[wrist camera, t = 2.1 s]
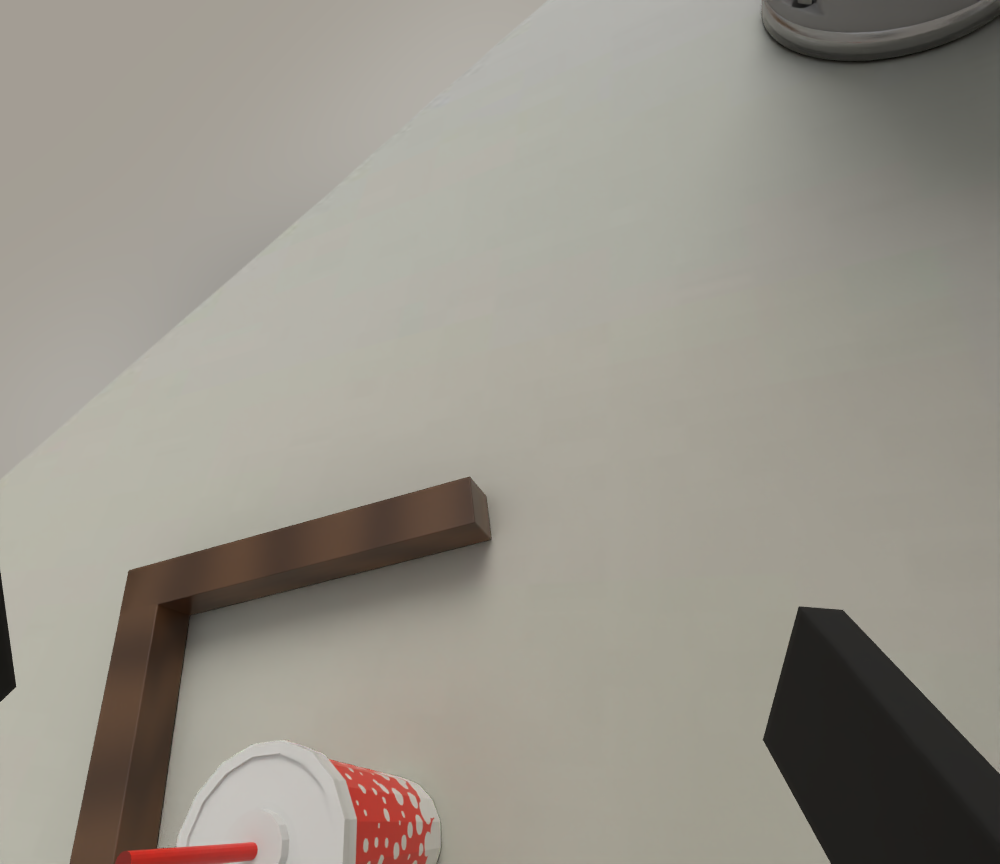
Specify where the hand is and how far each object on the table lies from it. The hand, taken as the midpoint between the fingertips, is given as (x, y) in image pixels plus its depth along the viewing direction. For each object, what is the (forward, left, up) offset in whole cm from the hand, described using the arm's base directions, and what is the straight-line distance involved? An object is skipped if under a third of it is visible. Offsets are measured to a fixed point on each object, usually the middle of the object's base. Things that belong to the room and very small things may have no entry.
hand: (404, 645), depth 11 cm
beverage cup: (+8, +6, -19) cm, 21 cm away
